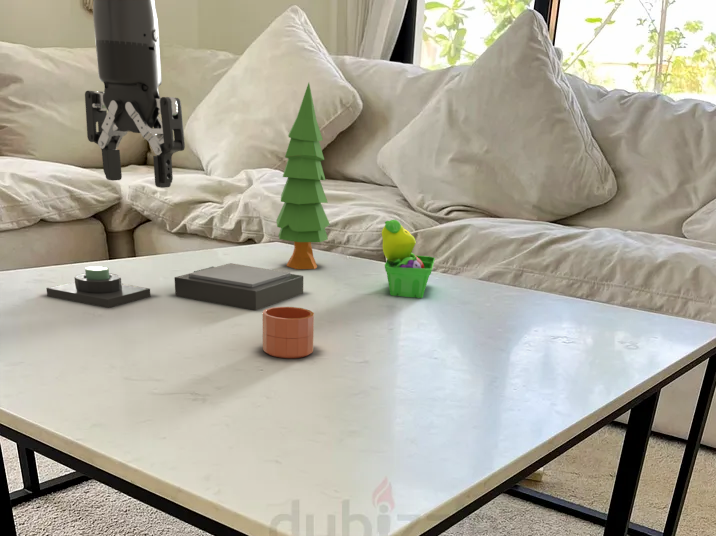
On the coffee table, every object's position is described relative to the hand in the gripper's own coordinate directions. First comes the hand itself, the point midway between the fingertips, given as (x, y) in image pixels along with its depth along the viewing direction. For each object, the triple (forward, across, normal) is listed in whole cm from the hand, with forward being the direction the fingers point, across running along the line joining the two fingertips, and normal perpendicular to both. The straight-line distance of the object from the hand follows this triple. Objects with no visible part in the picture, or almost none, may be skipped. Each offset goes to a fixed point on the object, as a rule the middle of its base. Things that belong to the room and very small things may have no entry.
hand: (138, 183), depth 102 cm
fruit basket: (+16, +23, +36) cm, 46 cm away
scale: (+16, +5, +15) cm, 23 cm away
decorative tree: (+16, -1, +40) cm, 44 cm away
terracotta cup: (+16, +28, -6) cm, 33 cm away
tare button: (+14, -9, 0) cm, 16 cm away
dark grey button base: (+16, -9, 0) cm, 19 cm away
